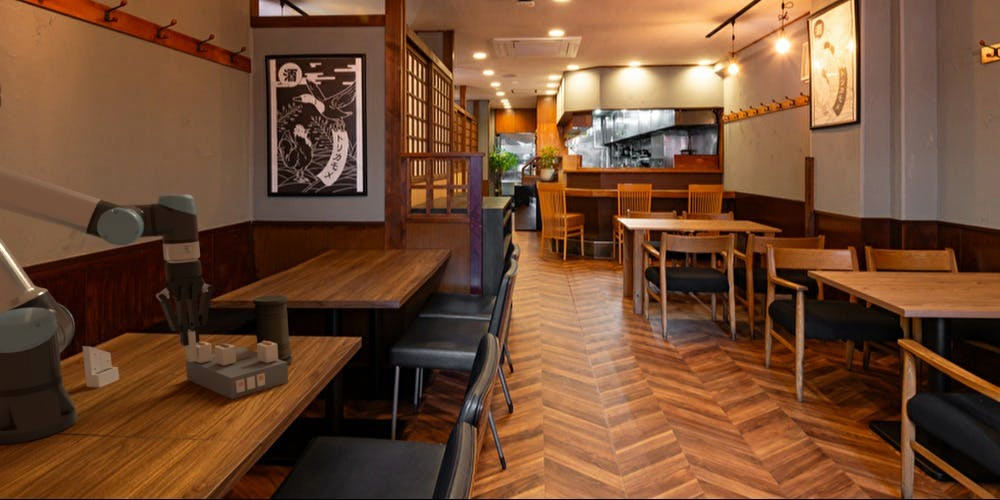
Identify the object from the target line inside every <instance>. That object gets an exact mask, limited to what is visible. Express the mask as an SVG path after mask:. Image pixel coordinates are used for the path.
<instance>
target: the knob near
mask: <svg viewBox="0 0 1000 500" xmlns="http://www.w3.org/2000/svg"><path fill="white" fill-rule="evenodd" d="M256 350H257V351H256V352H257V353H258V360H260V361H262V362H265V363H269V362H272V361H276V360H278V348H277V344H276V343H273V342H269V341H262V343H259V344H257V343H256Z"/></svg>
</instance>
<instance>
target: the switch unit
mask: <svg viewBox="0 0 1000 500" xmlns="http://www.w3.org/2000/svg"><path fill="white" fill-rule="evenodd" d="M235 354H236V363H232V364H228V365H221V364H218V363H216V361H215V352H212V359H213V360H211V361H207V362H203V363H198V362H196V361H193V360H192V359H189V358H187V359H185V366H186V367H185V368H186V379H187V380H188V381H189V382H192V383H193V384H194V383H195V384H196V385H199V386H201V387H203V388H205V389H207V390H210V391H212V392H214V393H217V394H220V395H221V396H223V397H226V398H228V399H230V398H231V400H235V399H238V398H237V397H239V398H241V396H242V397H244V396H243V395H245V396H247V395H246V394H248V395H250V394H249V393H251V394H254V393H253V392H255V393H257V392H256V391H258V392H261V391H264V390H268V389H271V388H273V386H274V387H278V386H280V384H281V385H284V384H287V383H289V373H288V365H287V362H285V361H282V360H279V359H278V360H276V361H272V362H269V363H265V362H262V361H260V360H258V353H257V351H254V350H251V349H248V348H245V347H242V346H238V347H235ZM270 387H271V388H270ZM267 388H268V389H267ZM263 389H264V390H263ZM260 390H261V391H260ZM234 398H235V399H234Z"/></svg>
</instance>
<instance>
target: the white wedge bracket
mask: <svg viewBox="0 0 1000 500" xmlns="http://www.w3.org/2000/svg"><path fill="white" fill-rule="evenodd" d="M82 354H83V362H84V374H85V375H84V376H85V383H86V387H88V388H103V387H104V386H107V385H108V384H112V383H114V382H116V381H119V380H120V375H119V367H118V366H112V355H111V352H108V351H105V350H103V349H99V348H95V347H92V346H89V345H88V346H86V345H85V346H84V345H82Z"/></svg>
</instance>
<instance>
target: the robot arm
mask: <svg viewBox="0 0 1000 500" xmlns="http://www.w3.org/2000/svg"><path fill="white" fill-rule="evenodd" d="M0 209H2V210H5V211H8V212H12V213H16V214H19V215H21V216H26V217H29V218H33V219H36V220H39V221H41V222H42V221H43V222H45V223H49V224H53V225H56V226H60V227H63V228H67V229H69V230H73V231H76V232H81V233H83V234H86V235H89V236H92V237H95V238H98V239H102V240H104V241H105V242H107V243H109V244H111V245H115V246H119V247H120V246H127V245H130V244H133V243H135V242H137V241H138V240H139V238H151V237H155V238H156V237H161V239H162V249H163V260H165V261H167V262H165V263H164V269H165V271H164V272H165V279H166V282H165V284H164V289H162V290H161V291H160V292H156V293H155V294H154V296H155V298H156V299H157V300H158V301H159V303H160V304H161V307H162V310H163V313H164V316H165V317H166V321H167V323H168V326H169V329H170V330H171V331H173V332H176V333H177V332H178V333H179V338H180V344H181V346H183V347H184V349H185V357H186V358H187V359H194V358H197V347H196V343H199V341H201V340H200V331H201V329H202V327H205V326H206V325H207V323H208V318H209V311H210V304H211V296H212V294H213V293H214V290H215V286H214V285H212V284H211V285H210V284H207V283H205V280H204V278H203V277H202V276H203V275H202V263H201V259H199V258H200V257H201V252H200V251H201V250H200V240H199V229H198V227H199V226H198V215H197V207H196V200H195V197H194V196H193V195H191V194H186V193H182V194H181V193H180V194H175V193H174V194H161V195H159V197H158V201H157V202H156V203H151V204H117V203H113V202H110V201H106V200H104V199H100V198H97V197H94V196H91V195H87V194H85V193H81V192H78V191H75V190H72V189H70V188H67V187H63V186H60V185H58V184H54V183H51V182H48V181H46V180H42V179H39V178H37V177H32V176H30V175H27V174H23V173H21V172H17V171H14V170H12V169H9V168H6V167H2V166H0ZM200 293H201V295H200V300H199V299H198V295H199V294H200ZM169 294H170V295H171V296H172V298H174V303H175V305H176V313H175V311H174V307H173V305H172V303H171V301H170V295H169ZM198 301H199V307H198ZM187 312H188V313H187ZM188 322H189V323H188ZM75 325H76V324H75V321H74V317H73V315H72V313H71V312H70V311H69V310H68V308H66V307H65V306H64V305H62V304H60V303H59V302H56V300H55V298H54V297H53V296H52V295H51V293H50V291H49V290H48V289H47V288H44V287H39V286H36V285H35V284H34V283H33V281H32V280H31V279H30V277H29V276H28V275H27V273H26V271H25V270H24V268H22V266H21V264H20V263H19V261H18V260H17V259H16V257H15V256H14V255H13V253H12V252H11V251H10V249H9V247H8V246H7V245H6V244H5V242H4V241H3V239H2V238H1V237H0V445H10V444H19V443H20V444H21V443H25V442H30V441H34V440H39V439H43V438H45V437H48V436H52V435H55V434H57V433H60V432H62V431H64V430H66V429H68V428H70V427H71V426H73V425H74V424H75V423H76V422H77V421H78V414H77V408H76V405H75V403H74V402H73V400H72V398H71V397H70V395H69V393H68V391H67V389H66V387H65V386H64V382H63V375H62V374H63V372H62V366H61V365H62V364H61V362H62V361H61V356H60V355H61V353H62V352H63V351H64V350H65V348H68V346H69V345H70V343H71V341H72V340H73V337H74V334H75Z"/></svg>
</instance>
